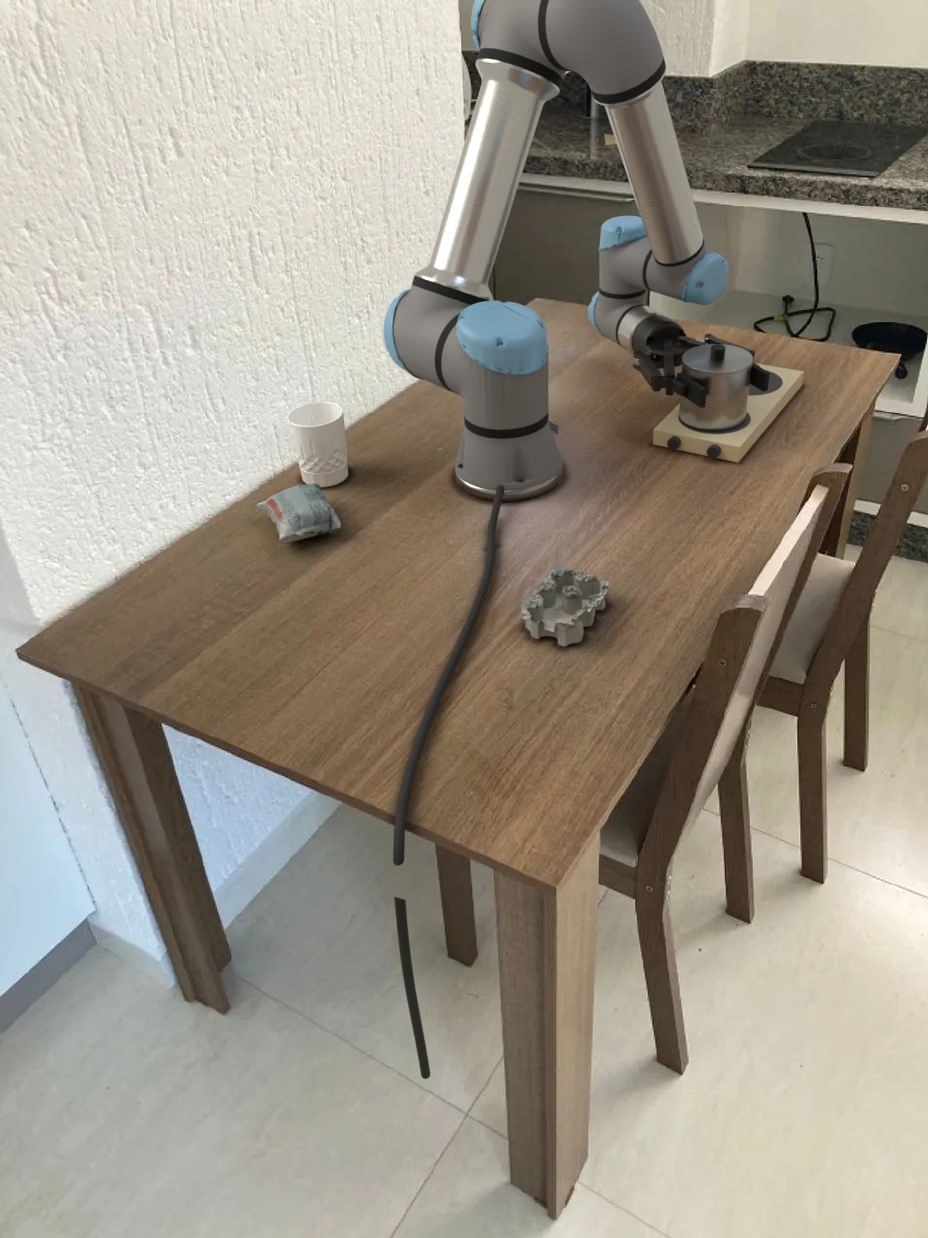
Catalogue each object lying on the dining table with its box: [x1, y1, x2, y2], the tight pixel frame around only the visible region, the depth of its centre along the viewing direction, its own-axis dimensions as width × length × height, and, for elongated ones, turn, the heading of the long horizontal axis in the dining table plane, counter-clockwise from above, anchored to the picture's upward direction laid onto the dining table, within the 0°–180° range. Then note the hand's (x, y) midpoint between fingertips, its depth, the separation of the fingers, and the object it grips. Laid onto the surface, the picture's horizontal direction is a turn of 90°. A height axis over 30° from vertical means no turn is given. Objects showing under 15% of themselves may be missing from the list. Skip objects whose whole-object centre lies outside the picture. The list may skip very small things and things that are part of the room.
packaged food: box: [256, 483, 342, 545], centre depth 136 cm, size 9×12×5 cm
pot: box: [679, 344, 753, 430], centre depth 146 cm, size 10×10×11 cm
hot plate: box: [652, 362, 805, 464], centre depth 154 cm, size 29×13×2 cm, turn 147°
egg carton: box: [520, 562, 610, 647], centre depth 116 cm, size 11×8×4 cm
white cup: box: [286, 401, 349, 488], centre depth 145 cm, size 8×8×10 cm
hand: (735, 390), depth 142 cm, fingers closed on pot, 10 cm apart
